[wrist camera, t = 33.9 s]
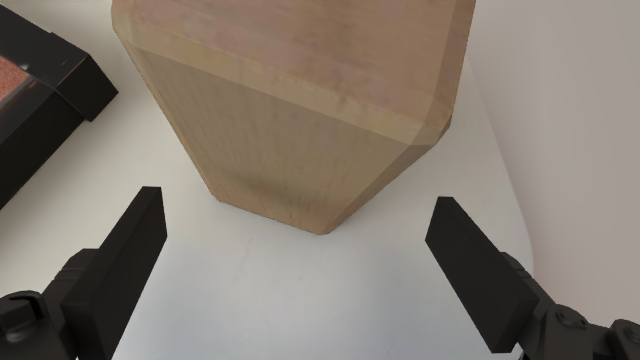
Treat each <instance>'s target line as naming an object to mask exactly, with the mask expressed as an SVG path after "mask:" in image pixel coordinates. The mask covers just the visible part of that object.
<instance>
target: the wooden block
mask: <svg viewBox="0 0 640 360" xmlns="http://www.w3.org/2000/svg"><path fill="white" fill-rule="evenodd" d="M475 3H476V0H113V2H112V7H111V15H112V24H113V29H114V31H115V32H116V34H117V36H118V37H119V39H120V41H121V42H122V44H123V46H124V47H125V49H126V51H127V53H128V54H129V56H130V58H131V59H132V61H133V63H134V64H135V66H136V68H137V69H138V71H139V73H140V74H141V76H142V78H143V79H144V81H145V83H146V84H147V86H148V88H149V89H150V91H151V93H152V94H153V96H154V98H155V100H156V101H157V103H158V105H159V106H160V108H161V110H162V111H163V113H164V115H165V116H166V118H167V120H168V121H169V123H170V125H171V126H172V128H173V130H174V131H175V133H176V135H177V136H178V138H179V140H180V141H181V143H182V145H183V146H184V148H185V150H186V152H187V153H188V155H189V157H190V158H191V160H192V162H193V163H194V165H195V167H196V168H197V170H198V172H199V173H200V175H201V177H202V178H203V180H204V182H205V183H206V185H207V187H208V188H209V190H210V192H211V193H212V195H213V196H214V197H216V198H217V199H218V200H219V201H221V202H224V203H227V204H230V205H233V206H236V207H239V208H242V209H244V210H247V211H250V212H253V213H256V214H259V215H262V216H265V217H268V218H271V219H274V220H277V221H280V222H283V223H285V224H288V225H291V226H294V227H297V228H300V229H303V230H306V231H309V232H312V233H315V234H318V235H322V234H329V233H330V232H331V231H332V230H334V229H335V228H336V227H337V226H338V225H340V224H341V223H342V222H343V221H344V220H346V219H347V218H348V217H349V216H350V215H352V214H353V213H354V212H355V211H356V210H358V209H359V208H360V207H361V206H362V205H364V204H365V203H366V202H367V201H368V200H370V199H371V198H372V197H373V196H374V195H376V194H377V193H378V192H379V191H380V190H382V189H383V188H384V187H385V186H386V185H388V184H389V183H390V182H391V181H392V180H394V179H395V178H396V177H397V176H398V175H400V174H401V173H402V172H403V171H404V170H406V169H407V168H408V167H409V166H410V165H412V164H413V163H414V162H415V161H416V160H418V159H419V158H420V157H421V156H422V155H424V154H425V153H426V152H427V151H428V150H430V149H431V148H432V147H433V146H434V145H436V143H437V142H438V141H439V140H440V138H441V137H442V136H443V135H444V133H445V132H446V131H447V129H448V128H449V127H450V123H451V118H452V113H453V109H454V104H455V99H456V94H457V89H458V85H459V80H460V75H461V70H462V65H463V61H464V56H465V51H466V46H467V41H468V37H469V32H470V27H471V22H472V18H473V12H474V8H475Z"/></svg>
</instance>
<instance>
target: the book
mask: <svg viewBox="0 0 640 360" xmlns="http://www.w3.org/2000/svg"><path fill="white" fill-rule="evenodd" d="M118 93H119V92H118V91H117V90H116V88H115V87H114V86H113V84H112V83H111V82H110V80H109V79H108V78H107V77H106V75H105V74H104V73H103V71H102V70H101V69H100V67H99V66H98V65H97V63H96V62H95V61H94V60H93V58H92V57H91V56H90V54H88V53H87V52H85V51H83V50H81V49H80V48H78V47H76V46H75V45H73V44H71V43H70V42H68V41H66V40H64V39H63V38H61V37H59V36H58V35H56V34H54V33H52V32H51V33H48V32H47V31H45V30H43V29H42V28H40V27H38V26H36V25H35V24H33V23H31V22H30V21H28V20H26V19H25V18H23V17H21V16H19V15H18V14H16V13H14V12H13V11H11V10H9V9H7V8H6V7H4V6H2V5H1V4H0V210H1V209H2V207H3V206H4V205H5V204H6V203H7V202H8V201H9V200H10V199H11V198H12V197H13V196H14V195H15V194H16V192H17V191H18V190H19V189H20V188H21V187H22V186H23V185H24V184H25V183H26V182H27V181H28V180H29V179H30V177H31V176H32V175H33V174H34V173H35V172H36V171H37V170H38V169H39V168H40V167H41V166H42V165H43V164H44V162H45V161H46V160H47V159H48V158H49V157H50V156H51V155H52V154H53V153H54V152H55V151H56V150H57V149H58V147H59V146H60V145H61V144H62V143H63V142H64V141H65V140H66V139H67V138H68V137H69V136H70V135H71V133H72V132H73V131H74V130H75V129H76V128H77V127H78V126H79V125H80V124H81V123H82V122H83V121H84V120H85V119H87V120H89V121H90V122H92V121H93V120H94V119H95V117H96V116H97V115H98V114H99V113H100V112H101V111H102V110H103V109H104V108H105V107H106V106H107V104H108V103H109V102H110V101H111V100H112V99H113V98H114V97H115V96H116V95H117V94H118Z"/></svg>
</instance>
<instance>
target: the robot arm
mask: <svg viewBox="0 0 640 360" xmlns="http://www.w3.org/2000/svg"><path fill="white" fill-rule="evenodd" d="M166 239H167V229H166V222H165V214H164V206H163V199H162V191H161V187H148V186H143V187H142V188H141V190H140V191H139V192H138V194H137V195H136V197H135V198H134V199H133V201H132V202H131V204H130V205H129V207H128V208H127V209H126V211H125V212H124V214H123V215H122V216H121V218H120V219H119V221H118V222H117V224H116V225H115V226H114V228H113V229H112V231H111V232H110V233H109V235H108V236H107V238H106V239H105V241H104V242H103V243H102V245H101V246H100V248H99V249H82V250H81V251H79V252H78V253H76V254H75V255H74V256H72V257H71V258H70V259H69V260H68V261H67V262H66V264H65V265H64V266H63V267H62V269H61V271H59V273H58V274H57V275H56V276H55V278H54V280H52V281H51V283H50V284H49V285H48V286H47V288H46V289H45V290H44V292H43V293H42V294H40V293H39V292H36V291H31V290H28V291H18V292H15V293H12V294H8V295H6V296H4V297H2V298H0V360H75V359H76V358H77V356H78V359H79V360H111V359H112V357H113V355H114V352H115V350H116V348H117V346H118V344H119V342H120V339H121V337H122V335H123V333H124V331H125V328H126V326H127V324H128V322H129V320H130V317H131V315H132V313H133V311H134V309H135V307H136V304H137V302H138V300H139V298H140V296H141V293H142V291H143V289H144V287H145V285H146V282H147V280H148V278H149V276H150V274H151V272H152V269H153V267H154V265H155V263H156V261H157V258H158V256H159V254H160V252H161V250H162V248H163V245H164V243H165V241H166ZM425 242H426V243H427V245H428V247H429V248H430V250H431V252H432V253H433V255H434V257H435V259H436V260H437V262H438V264H439V265H440V267H441V269H442V270H443V272H444V274H445V275H446V277H447V279H448V280H449V282H450V284H451V285H452V287H453V289H454V290H455V292H456V294H457V296H458V297H459V299H460V301H461V302H462V304H463V306H464V307H465V309H466V311H467V312H468V314H469V316H470V317H471V319H472V321H473V322H474V324H475V326H476V328H477V329H478V331H479V333H480V334H481V336H482V338H483V339H484V341H485V343H486V344H487V346H488V348H489V349H490V351H491V353H511V352H512V350H513V348H514V346H515V344H516V343H517V342H518V343H519V345H520V346H521V348H522V349H523V352H522V354H521V356H520V358H519V359H518V360H640V325H639V324H636V323H634V322H631V321H628V320H624V319H618V320H615V321H614V323H613V324H612V325H611V327H610V328H607V327H602V326H598V325H594V324H590V323H588V321H587V320H586V319H585V318H584V317H583V316H582V315H581V314H579V313H578V312H577V311H575V310H573V309H571V308H569V307H567V306H564V305H560V304H556V303H555V302H554V301H553V300H552V299H551V298H550V297H549V296H548V294H547V293H546V292H545V291H544V290H543V289H542V288H541V286H540V285H538V283H537V282H536V281H535V280H534V279H532V276H531V275H530V274H529V273H528V272H527V271H525V269H524V267H523V266H522V265H521V264H520V263H519V262H518V261H517V260H516V259H515V258H513V257H512V256H510V255H509V254H507V253H506V252H499V250H498V249H497V248H496V247H495V246H494V245H493V243H492V242H491V241H490V240H489V239H488V238H487V237H486V235H485V234H484V233H483V232H482V231H481V230H480V228H479V227H478V226H477V225H476V224H475V223H474V221H473V220H472V219H471V218H470V217H469V216H468V214H467V213H466V212H465V211H464V210H463V209H462V207H461V206H460V205H459V204H458V203H457V202H456V200H455V199H454V198H453V197H441V196H438V199H437V202H436V205H435V208H434V212H433V215H432V218H431V222H430V225H429V228H428V232H427V235H426V238H425Z"/></svg>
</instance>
